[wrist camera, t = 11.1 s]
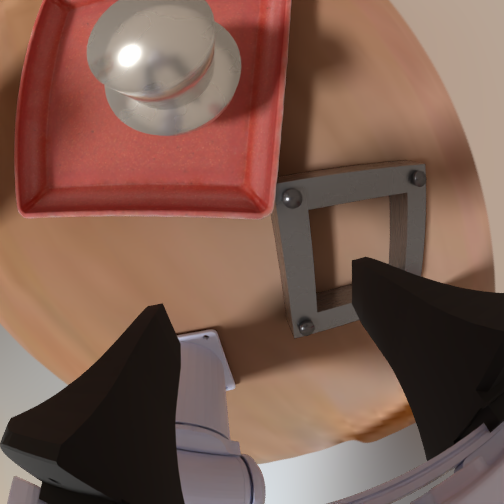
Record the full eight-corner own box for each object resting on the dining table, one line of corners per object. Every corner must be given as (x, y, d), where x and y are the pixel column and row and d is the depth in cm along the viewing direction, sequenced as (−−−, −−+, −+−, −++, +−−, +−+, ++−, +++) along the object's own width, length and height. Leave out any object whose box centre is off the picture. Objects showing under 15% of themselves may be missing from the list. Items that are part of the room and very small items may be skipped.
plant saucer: (283, -12, 13) (294, -33, 10) (264, 208, 20) (274, 221, 16) (62, 4, 10) (45, -9, 7) (40, 207, 17) (17, 219, 14)
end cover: (132, 153, 14) (75, 163, 7) (108, 51, 11) (52, 10, 5) (251, 116, 14) (279, 96, 8) (222, 15, 11) (229, -53, 5)
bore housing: (287, 320, 23) (295, 342, 20) (265, 179, 18) (273, 185, 16) (403, 286, 24) (420, 301, 21) (406, 160, 19) (429, 164, 16)
